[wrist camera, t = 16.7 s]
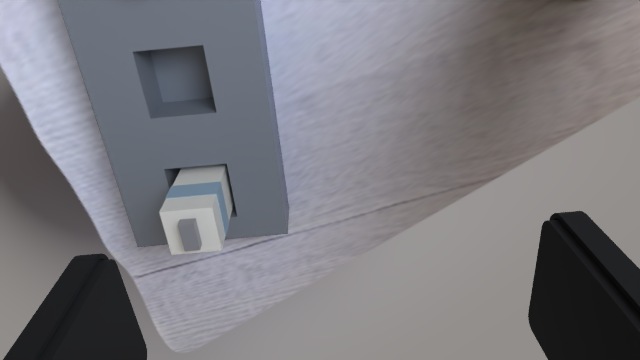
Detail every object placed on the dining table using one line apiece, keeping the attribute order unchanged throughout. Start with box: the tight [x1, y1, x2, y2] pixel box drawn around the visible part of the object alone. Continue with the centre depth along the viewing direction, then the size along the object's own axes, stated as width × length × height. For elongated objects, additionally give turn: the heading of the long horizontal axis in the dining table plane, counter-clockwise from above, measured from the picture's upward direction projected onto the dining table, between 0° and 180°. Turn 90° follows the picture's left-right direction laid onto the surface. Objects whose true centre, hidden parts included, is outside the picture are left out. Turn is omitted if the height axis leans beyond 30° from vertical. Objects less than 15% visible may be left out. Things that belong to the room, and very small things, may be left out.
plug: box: [159, 164, 234, 255], centre depth 41 cm, size 4×4×11 cm
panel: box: [58, 0, 289, 247], centre depth 40 cm, size 14×28×4 cm, turn 5°
